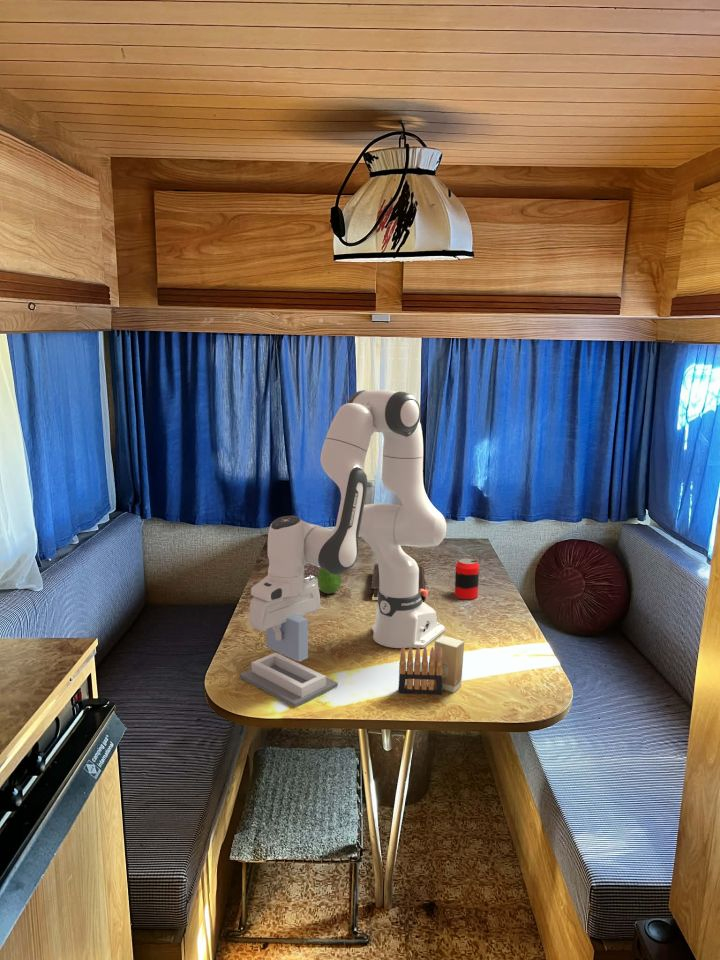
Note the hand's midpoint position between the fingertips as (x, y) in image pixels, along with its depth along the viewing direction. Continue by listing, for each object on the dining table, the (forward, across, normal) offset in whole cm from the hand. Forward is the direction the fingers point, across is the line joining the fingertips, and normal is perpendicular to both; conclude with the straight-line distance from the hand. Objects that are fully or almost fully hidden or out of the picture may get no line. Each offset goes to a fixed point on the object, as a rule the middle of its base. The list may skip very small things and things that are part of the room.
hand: (286, 636), depth 178 cm
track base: (+12, 0, 0) cm, 12 cm away
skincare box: (+12, -26, +30) cm, 42 cm away
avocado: (+12, -50, -36) cm, 63 cm away
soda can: (+11, -80, -2) cm, 81 cm away
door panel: (+4, 0, 0) cm, 4 cm away
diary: (+12, -70, -23) cm, 75 cm away
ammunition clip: (+12, -20, +27) cm, 35 cm away
